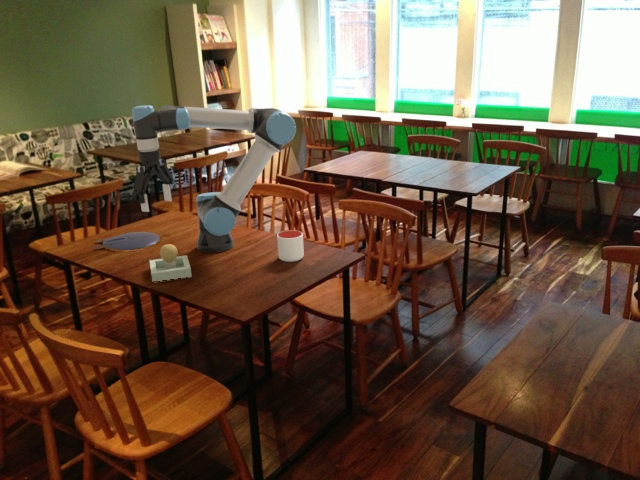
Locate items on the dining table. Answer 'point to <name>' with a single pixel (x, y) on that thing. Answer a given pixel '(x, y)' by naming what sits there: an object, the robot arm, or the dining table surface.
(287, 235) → the cup
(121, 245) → the toy spaceship
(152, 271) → the tray
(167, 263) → the light bulb
